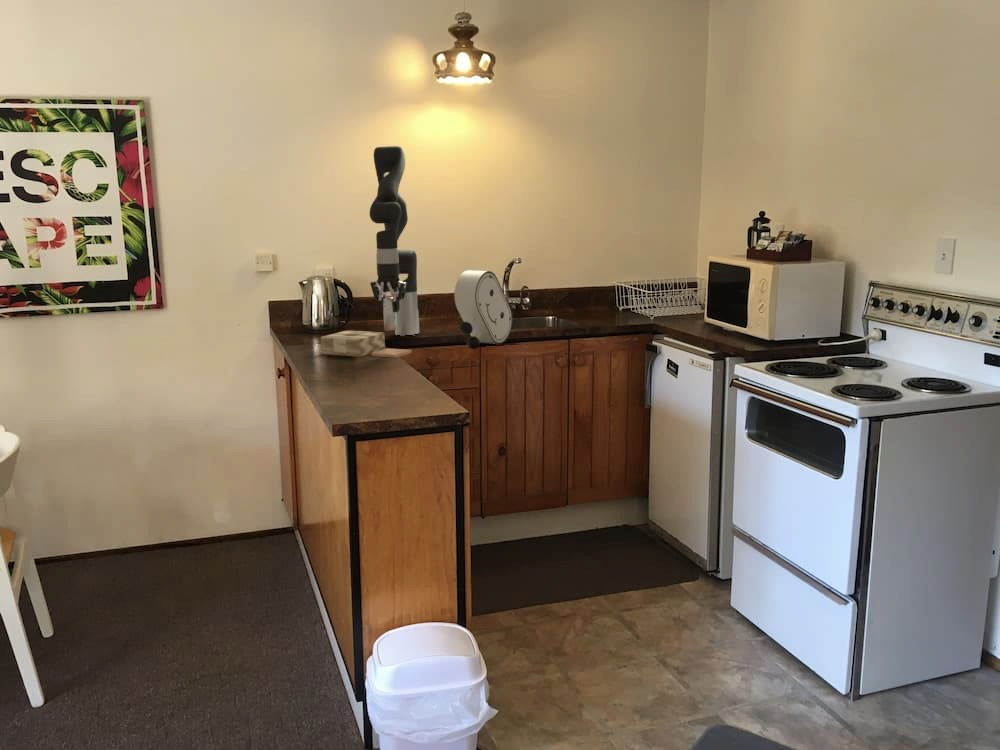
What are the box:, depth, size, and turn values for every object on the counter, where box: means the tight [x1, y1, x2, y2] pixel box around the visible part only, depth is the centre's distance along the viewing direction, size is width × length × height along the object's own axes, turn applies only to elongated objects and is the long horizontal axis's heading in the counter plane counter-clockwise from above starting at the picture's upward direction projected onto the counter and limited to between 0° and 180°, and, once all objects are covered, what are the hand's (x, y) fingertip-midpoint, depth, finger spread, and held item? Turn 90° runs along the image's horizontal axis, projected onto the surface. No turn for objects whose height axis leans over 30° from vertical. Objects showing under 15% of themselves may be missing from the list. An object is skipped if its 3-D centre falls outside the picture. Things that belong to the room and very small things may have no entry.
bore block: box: [320, 329, 386, 358], centre depth 308 cm, size 16×16×6 cm
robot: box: [453, 269, 513, 350], centre depth 312 cm, size 30×9×24 cm
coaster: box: [370, 347, 412, 359], centre depth 302 cm, size 10×10×1 cm
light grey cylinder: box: [382, 296, 397, 332], centre depth 299 cm, size 4×4×11 cm
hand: (389, 311), depth 299 cm, fingers closed on light grey cylinder, 4 cm apart
